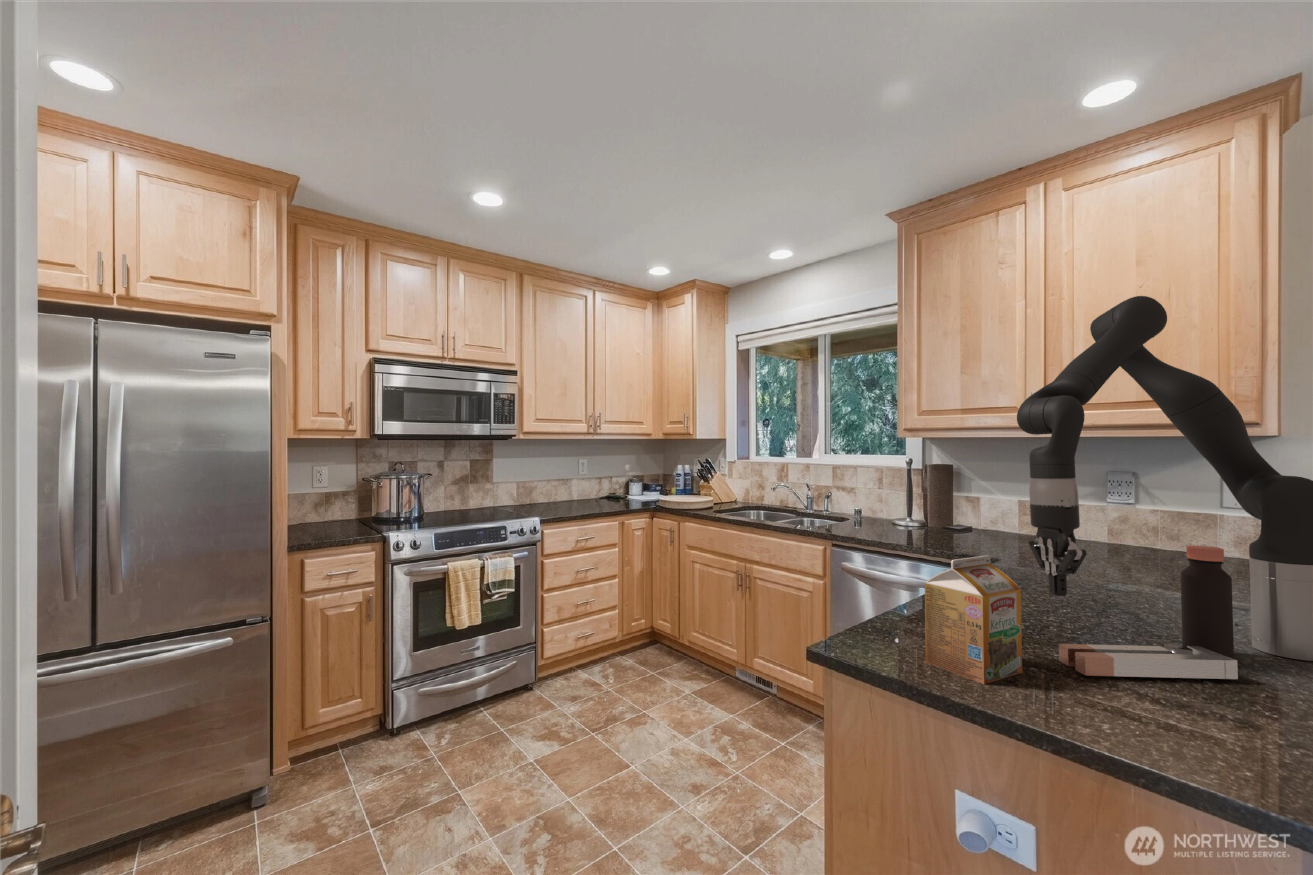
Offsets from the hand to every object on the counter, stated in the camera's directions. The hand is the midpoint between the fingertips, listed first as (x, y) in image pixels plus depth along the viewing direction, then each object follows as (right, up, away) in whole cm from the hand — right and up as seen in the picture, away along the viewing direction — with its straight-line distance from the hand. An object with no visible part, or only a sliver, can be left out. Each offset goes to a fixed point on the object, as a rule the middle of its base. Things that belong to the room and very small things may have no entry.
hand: (1058, 594), depth 104 cm
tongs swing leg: (+6, -10, -8) cm, 14 cm away
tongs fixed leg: (+8, -10, -10) cm, 16 cm away
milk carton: (-20, -11, -7) cm, 24 cm away
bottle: (+26, -11, -2) cm, 28 cm away
